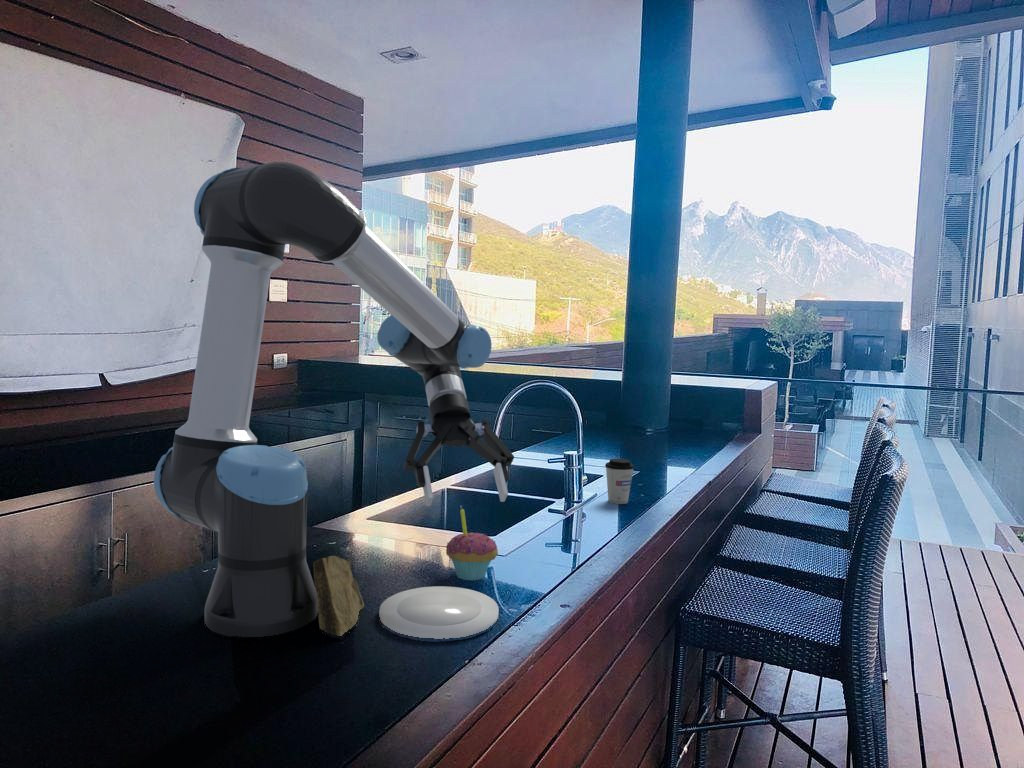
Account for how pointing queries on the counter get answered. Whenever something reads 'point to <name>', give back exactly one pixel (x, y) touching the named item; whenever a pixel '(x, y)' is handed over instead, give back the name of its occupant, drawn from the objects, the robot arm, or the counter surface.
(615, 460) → the coffee cup
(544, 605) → the counter surface
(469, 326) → the robot arm
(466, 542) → the cupcake
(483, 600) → the plate
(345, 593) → the rock
